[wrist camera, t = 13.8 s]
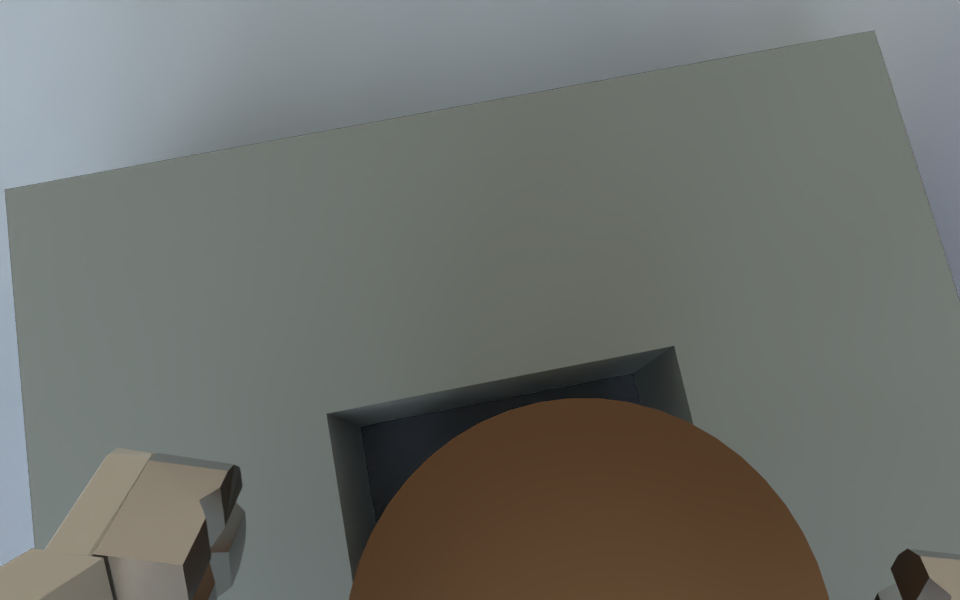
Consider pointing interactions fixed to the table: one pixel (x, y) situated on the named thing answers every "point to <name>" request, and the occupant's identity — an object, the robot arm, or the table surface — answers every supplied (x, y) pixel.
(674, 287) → the bored board
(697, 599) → the long pin
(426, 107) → the table surface
